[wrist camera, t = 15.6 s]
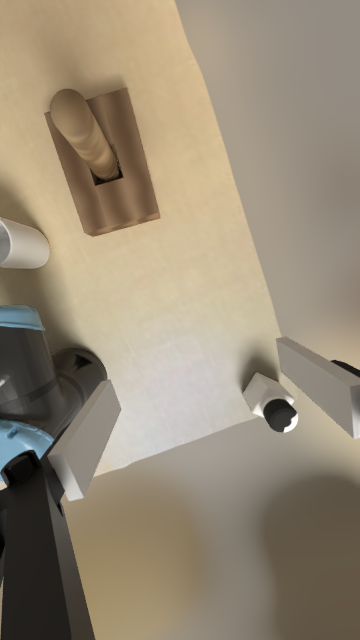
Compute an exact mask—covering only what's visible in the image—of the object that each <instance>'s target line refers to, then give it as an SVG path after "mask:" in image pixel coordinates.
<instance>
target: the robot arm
mask: <svg viewBox="0 0 360 640" xmlns="http://www.w3.org/2000/svg"><path fill="white" fill-rule="evenodd" d="M45 331H46V330H45V328H44V327H43V325H42V323H41V320H40V317H39V314H38V312H37V311H36V310H35V309H34V308H33V307H31V306H28V305H5V306H0V481H4V482H5V484H6V485H7V488H5V489H3V490H0V587H1V583H2V580H3V600H2V620H1V639H0V640H95V636H94V632H93V628H92V624H91V620H90V616H89V612H88V608H87V604H86V600H85V595H84V591H83V588H82V583H81V579H80V575H79V571H78V567H77V563H76V559H75V554H74V551H73V546H72V542H71V538H70V534H69V531H68V526H67V522H66V518H65V514H64V510H63V506H62V504H61V502H60V500H61V498H62V496H63V494H64V492H65V494H66V496H67V498H68V500H69V501H72V500H77V499H81V498H84V496H85V494H86V492H87V489H88V487H89V485H90V482H91V480H92V478H93V475H94V473H95V470H96V468H97V466H98V463H99V461H100V459H101V456H102V454H103V451H104V449H105V447H106V444H107V442H108V440H109V437H110V435H111V433H112V430H113V428H114V425H115V423H116V421H117V418H118V416H119V414H120V411H121V407H120V404H119V401H118V399H117V396H116V393H115V390H114V388H113V385H112V382H111V380H107V373H106V370H105V367H104V366H103V364H102V362H101V361H100V360H99V359H98V358H97V357H96V356H94V355H93V354H91V353H90V352H87V351H85V350H81V349H65V350H62V351H60V352H58V353H56V354H55V355H53V356H52V354H51V351H50V347H49V344H48V341H47V337H46V334H45ZM276 343H277V349H278V356H279V362H280V368H281V372H282V373H283V374H284V375H285V376H287V377H288V378H289V379H290V380H291V381H292V382H293V383H294V384H295V385H296V386H297V387H298V388H300V389H301V390H302V391H303V392H304V393H305V394H306V395H307V396H308V397H309V398H310V399H311V400H312V401H314V402H315V403H316V404H317V405H318V406H319V407H320V408H321V409H322V410H323V411H324V412H326V413H327V414H328V415H329V416H330V417H331V418H332V419H333V420H334V421H335V422H336V423H337V424H338V425H340V426H341V427H342V428H343V429H344V430H345V431H346V432H347V433H348V434H349V435H350V436H351V437H352V438H354V439H356V438H360V370H358V369H356V368H354V367H352V366H350V365H348V364H347V363H344V362H340V361H337V360H332V361H328V360H327V359H325V358H323V357H322V356H320V355H318V354H316V353H314V352H312V351H311V350H309V349H307V348H305V347H304V346H302V345H300V344H298V343H297V342H295V341H293V340H291V339H289V338H288V337H282V338H278V339H276ZM3 576H4V579H3Z"/></svg>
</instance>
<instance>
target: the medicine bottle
mask: <svg viewBox="0 0 360 640" xmlns="http://www.w3.org/2000/svg"><path fill="white" fill-rule="evenodd" d="M243 397H244V398H245V400H246V402H247V404H248V406H249V408H250V410H251V411H252V413H254V414H257V415H259V416H261V417H263V418H265V419H266V421H267V422H268V424H269V426H270V427H271V428H272V429H273V430H275V431H277V432H287V431H290V430H292V429H293V428H294V427H295V426H296V424H297V422H298V414H297V412H296V410H295V409H294V408H293V407H292V406H291V405H292V403H293V402H294V400H295V399H294V398H293V397H292V396H291V394H290V393H289V392H288V391H287V390H286V389H285V388H284V387H283V386H282V385H281V384H280V383H279V382H277V381H274V380H272V379H270V378H268V377H266V376H264V375H262V374H259V373H257V372H256V373H255V375H254V376H253V378H252V379H251V381H250V383H249V384H248V386H247V387H246V389H245V391H244V392H243Z"/></svg>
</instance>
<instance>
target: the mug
mask: <svg viewBox="0 0 360 640" xmlns="http://www.w3.org/2000/svg"><path fill="white" fill-rule="evenodd" d="M49 256H50V246H49V243H48V241H47V239H46V238H45V236H44V235H43V234H42V233H41V232H39V231H38V230H36V229H34V228H32V227H29V226H26V225H23V224H20V223H17V222H14V221H11V220H8V219H5V218H2V217H0V268H21V269H36V268H39V267H42V266H43V265H44V264H45V263H46V262H47V261H48V259H49Z"/></svg>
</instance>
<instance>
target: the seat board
mask: <svg viewBox="0 0 360 640" xmlns="http://www.w3.org/2000/svg"><path fill="white" fill-rule="evenodd" d="M85 101H86V102H87V104H88V106H89V108H90V110H91V112H92V114H93V116H94V118H95V119H96V121H97V123H98V125H99V127H100V129H101V131H102V133H103V135H104V137H105V138H106V140H107V142H108V144H109V146H110V148H111V150H112V152H113V153H114V155H115V157H116V158H117V157H118V160H119V163H120V167H121V170H122V174H123V177H124V178H121V179H118V180H114V181H111V182H107V183H104V184H99V181H98V177H97V176H96V175H95V174H94V173H93V172H92V170H91V169H90V168H89V166H88V165H87V164H86V163H85V161H84V160H83V159H82V158H81V157H80V155H79V154H78V153H77V152H76V150H75V149H74V148H73V147H72V145H71V144H70V143H69V142H68V141H67V139H66V138H65V137H64V136H63V134H62V133H61V132H60V131H59V130H58V128H57V127H56V126H55V124H54V122H53V120H52V118H51V113H50V112H47V113H44V115H45V118H46V120H47V123H48V126H49V129H50V132H51V135H52V138H53V141H54V144H55V147H56V150H57V153H58V156H59V159H60V162H61V165H62V168H63V171H64V174H65V177H66V180H67V183H68V185H69V188H70V191H71V194H72V197H73V200H74V203H75V206H76V209H77V212H78V215H79V218H80V221H81V224H82V227H83V230H84V233H86V234H88V235H90V236H92V237H94V236H98V235H102V234H105V233H109V232H112V231H116V230H119V229H123V228H127V227H130V226H134V225H137V224H141V223H145V222H148V221H152V220H155V219H159V218H160V214H159V210H158V206H157V202H156V199H155V195H154V191H153V187H152V183H151V179H150V175H149V171H148V167H147V163H146V160H145V156H144V152H143V148H142V144H141V140H140V136H139V132H138V128H137V124H136V121H135V117H134V113H133V109H132V105H131V101H130V98H129V94H128V90H127V88H124V89H121V90H118V91H114V92H111V93H108V94H105V95H101V96H98V97H95V98H92V99H89V100H85Z"/></svg>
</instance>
